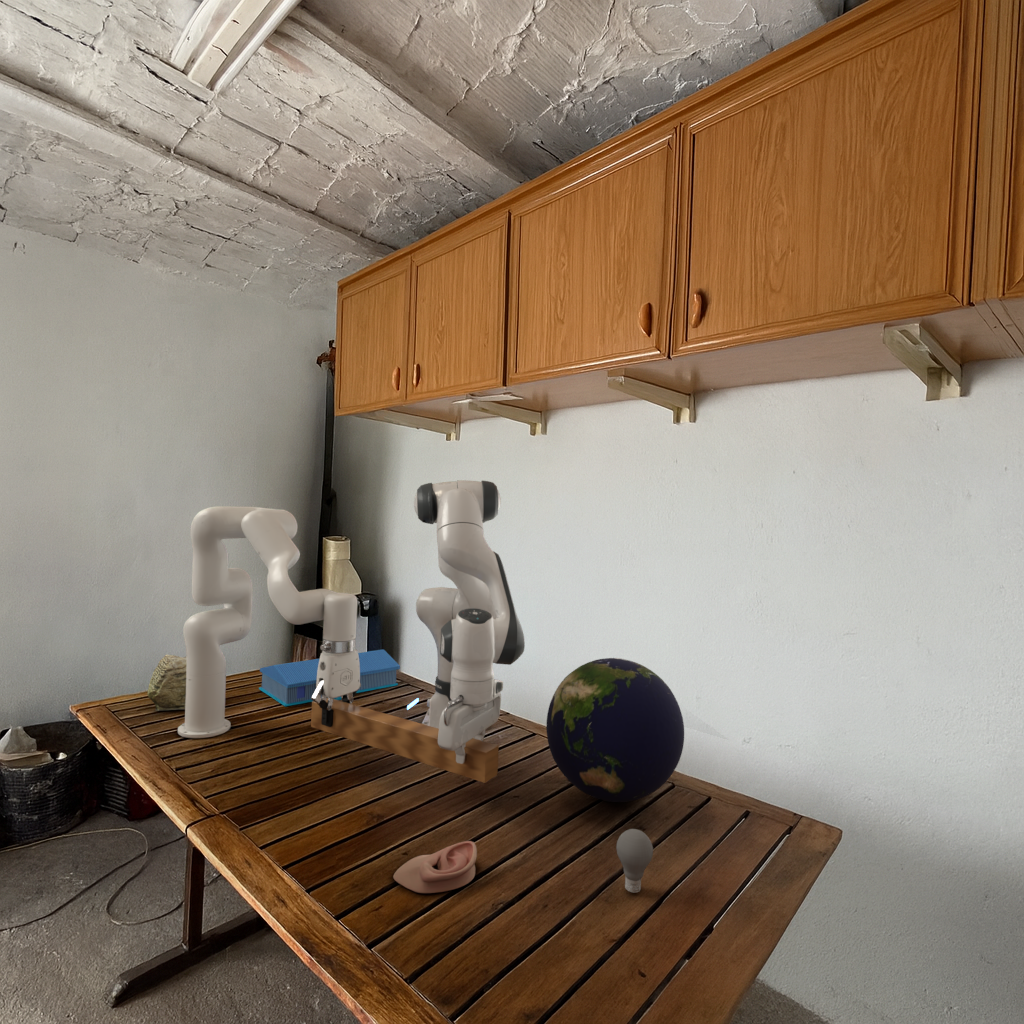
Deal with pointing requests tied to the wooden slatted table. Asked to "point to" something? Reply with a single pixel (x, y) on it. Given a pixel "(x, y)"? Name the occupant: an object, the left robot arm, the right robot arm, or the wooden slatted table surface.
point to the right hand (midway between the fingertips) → (469, 756)
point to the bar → (407, 739)
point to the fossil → (169, 683)
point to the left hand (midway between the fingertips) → (335, 721)
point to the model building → (300, 677)
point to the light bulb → (634, 857)
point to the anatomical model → (439, 869)
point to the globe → (615, 730)
